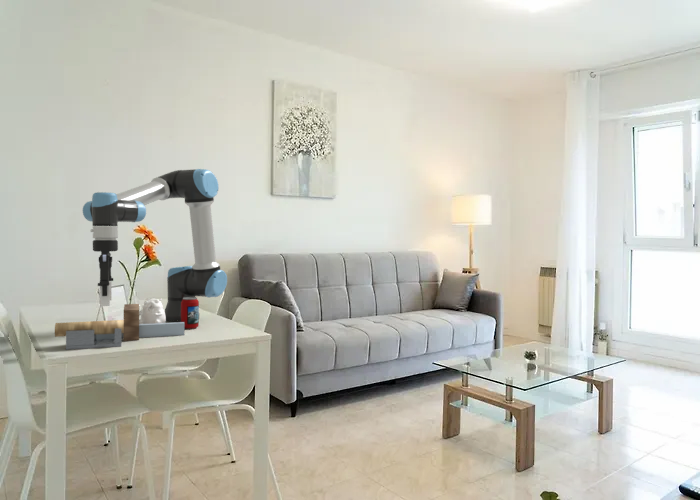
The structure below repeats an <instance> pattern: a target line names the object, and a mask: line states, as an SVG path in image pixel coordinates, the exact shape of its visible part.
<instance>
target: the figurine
mask: <svg viewBox="0 0 700 500" xmlns="http://www.w3.org/2000/svg"><path fill="white" fill-rule="evenodd" d="M162 300H163V299H162V298H159V299H158V298H155V297H153V298H146V299H145V301H144V303H143V305H142V309H141V310H139V316H140V318H139V324H155V323H167V321H166V315H165V309H164V306H163V303H162Z"/></svg>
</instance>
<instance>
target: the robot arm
mask: <svg viewBox="0 0 700 500" xmlns="http://www.w3.org/2000/svg"><path fill="white" fill-rule="evenodd" d="M218 192H219V182H218V179H217V176H216V175H215V174H214V173H213V172H212V171H211V170H209V169H204V168H203V169H202V168H196V169H178V170H174V171H170V172H167V173H165V174H162V175H160V176H156V177H155V178H152V179H151V181H150V182H148V183H144V184H142V185H138V186H136V187H134V188H130V189H127V190H125V191H122V192H120V193H114V192H106V191H105V192H103V191H102V192H99V191H98V192H94V193H92V197H91V198H92V199H91V200H90V201H86V202H85V203H84V205H83V206H82V215H83V217H84V219H85V220H86V221H89V222H91V223H92V228H91V229H90V233H92V239H94V240H93V241H92V251H94V252H99V253H100V255H99V257H98V262H99V263H98V266H99V282H97V287H99V300H100V307H110V306H111V301H112V300H113V299H112V282H114V277H112V265H113V263H112V262H113V256H111V255H112V253H110V252H116V251H118V250H119V243H118V240H117V239H118V237H119V230H118V229H119V227H118V225H119V224H118V222H119V223H140V222H142V221H143V220H145V218H146V214H147V208H146V206H147V205H149V204H151V203H154V202H156V201H158V200H159V201H165V200H168V199H184V203H185V204H186V205H187V206H188V208H189V218H190V227H191V237H192V243H193V244H192V246H193V247H192V248H193V254H194V264H192V265H187V266H177V267H170V268H169V269H168V271H167V278H166V279H167V301H166V306H165V309H164V311H165V315H166V322H181V302H182V300H183V298H186V297H203V298H217V297H220V296H221V295H222V294H223V293H224V292H225V289H226V288H227V285H228V276H227V273H226V272H225V271H224V270H223V269H221V264H220V263H219V262H218V261H217V259H216V250H215V248H216V247H215V237H214V229H213V228H214V227H213V218H212V217H213V216H212V207H211V205H212V204H213V203H214V201H215V197H217V195H218Z"/></svg>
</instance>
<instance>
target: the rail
mask: <svg viewBox="0 0 700 500" xmlns="http://www.w3.org/2000/svg"><path fill="white" fill-rule="evenodd" d="M184 335H185V329H184V322H181V321H174V322H165V323H155V324H139V339H140V338H153V337H155V338H157V337H171V336H172V337H174V336H175V337H176V336H184ZM100 339H115V334H97V335H96V340H100ZM122 340H123V333H122Z"/></svg>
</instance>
